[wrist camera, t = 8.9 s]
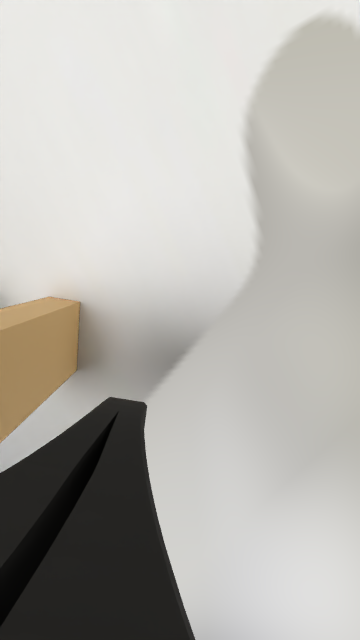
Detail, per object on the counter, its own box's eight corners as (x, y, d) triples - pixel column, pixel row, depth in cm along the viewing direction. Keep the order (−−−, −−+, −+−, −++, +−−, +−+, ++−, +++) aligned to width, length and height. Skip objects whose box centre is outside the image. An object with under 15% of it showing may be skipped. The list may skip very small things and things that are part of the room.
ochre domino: (76, 370, 16) (-60, 499, 7) (47, 365, 16) (-123, 489, 7) (79, 301, 15) (-78, 358, 6) (48, 296, 15) (-153, 346, 6)
